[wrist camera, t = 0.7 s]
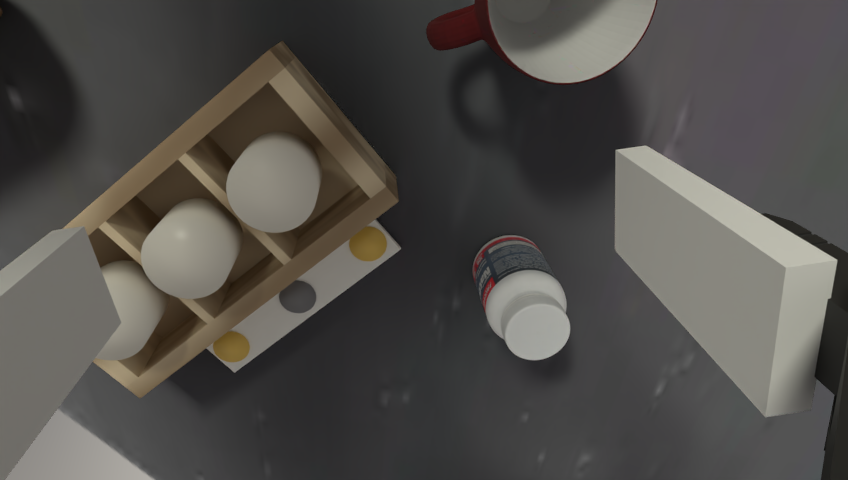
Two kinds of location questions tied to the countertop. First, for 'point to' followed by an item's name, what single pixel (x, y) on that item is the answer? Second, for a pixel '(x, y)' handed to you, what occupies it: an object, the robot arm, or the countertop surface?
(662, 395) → the countertop surface
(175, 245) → the button
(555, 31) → the mug
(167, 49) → the countertop surface
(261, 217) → the button
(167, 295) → the button
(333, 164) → the wooden compartment tray
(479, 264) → the pill bottle
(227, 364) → the card
